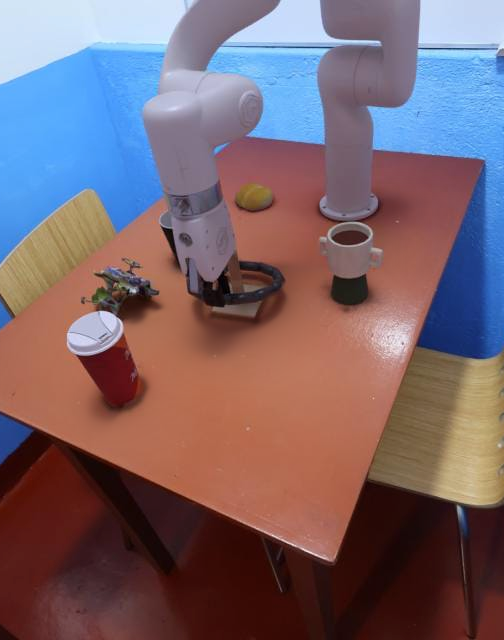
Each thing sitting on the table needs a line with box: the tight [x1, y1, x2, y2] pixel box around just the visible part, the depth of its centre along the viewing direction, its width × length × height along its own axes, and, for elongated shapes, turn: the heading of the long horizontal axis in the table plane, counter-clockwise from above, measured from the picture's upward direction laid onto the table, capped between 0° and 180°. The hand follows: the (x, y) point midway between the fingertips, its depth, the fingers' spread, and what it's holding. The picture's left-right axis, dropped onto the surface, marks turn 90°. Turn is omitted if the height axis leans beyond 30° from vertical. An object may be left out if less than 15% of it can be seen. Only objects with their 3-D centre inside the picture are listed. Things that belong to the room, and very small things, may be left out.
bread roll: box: [234, 182, 274, 212], centre depth 109 cm, size 8×9×4 cm
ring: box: [185, 260, 286, 305], centre depth 80 cm, size 17×17×2 cm
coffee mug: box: [158, 209, 181, 268], centre depth 94 cm, size 12×9×10 cm
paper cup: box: [66, 310, 143, 408], centre depth 68 cm, size 8×8×14 cm
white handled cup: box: [318, 221, 384, 306], centre depth 77 cm, size 11×7×13 cm, turn 58°
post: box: [211, 248, 267, 318], centre depth 80 cm, size 8×8×11 cm
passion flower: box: [80, 257, 160, 317], centre depth 85 cm, size 11×11×12 cm
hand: (218, 299), depth 74 cm, fingers closed on ring, 1 cm apart
